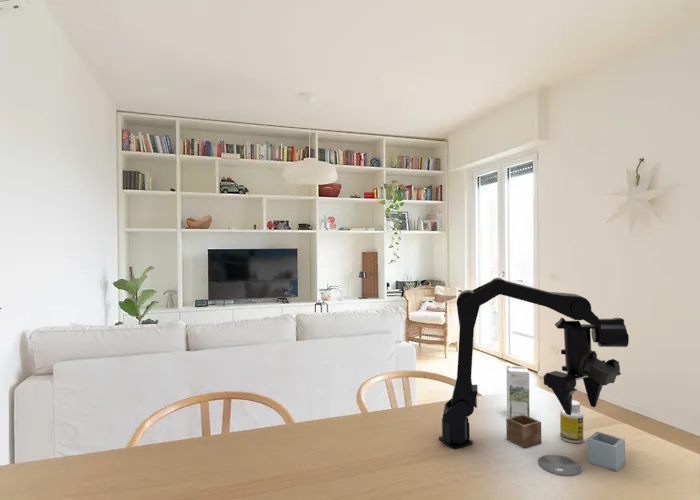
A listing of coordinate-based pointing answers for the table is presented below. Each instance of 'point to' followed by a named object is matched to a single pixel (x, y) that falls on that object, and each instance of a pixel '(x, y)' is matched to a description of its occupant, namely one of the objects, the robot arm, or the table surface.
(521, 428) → the walnut box
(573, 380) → the robot arm
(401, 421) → the table surface
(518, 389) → the syrup box
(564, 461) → the coaster
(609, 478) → the table surface
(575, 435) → the supplement bottle
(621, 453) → the slate cup
